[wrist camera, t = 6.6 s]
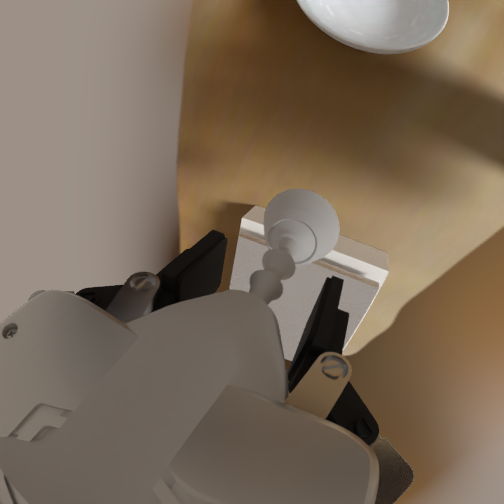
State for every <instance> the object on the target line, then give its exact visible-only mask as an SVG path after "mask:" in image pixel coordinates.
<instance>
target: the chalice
mask: <svg viewBox="0 0 504 504" xmlns="http://www.w3.org/2000/svg"><path fill="white" fill-rule="evenodd" d="M263 224H264V237H265V241H266V245H267V247H268V248H269V250H268V251H266V252H265V253H264V255H263V257H262V265H263V268H264V270H258V271H255V272H254V273H253V274H251V277H250V281H249V283H250V290H249V293H248V292H245V291H242V290H231V289H230V290H226V291H222V292H218V293H214V294H210V295H206V296H202V297H198V298H194V299H190V300H186V301H182V302H179V303H176V304H172V305H169V306H166V307H164V308H162V309H159V310H157V311H154V312H152V313H150V314H147V315H145V316H143V317H140V318H138V319H135V320H133V321H131V322H128V323H126V324H127V325H128V326H129V328H130V329H131V330H132V331H133V332H134V333H136V334H137V335H138V336H139V338H138V339H137V340H136V341H135V342H134V343H133V344H132V346H131V347H130V348H129V349H128V350H127V351H126V353H125V354H124V355H123V356H122V357H121V358H120V359H119V361H118V362H117V363H116V364H115V365H114V366H113V368H112V369H111V370H110V371H109V372H108V373H107V375H106V376H105V377H104V378H103V379H102V380H101V381H100V382H99V384H98V385H97V386H96V387H95V388H94V389H93V390H92V392H91V393H90V394H89V395H88V396H87V397H86V398H85V400H84V401H83V402H82V403H81V404H80V405H79V406H78V408H77V409H76V410H75V411H64V412H63V413H62V414H61V415H60V416H62V417H66V418H68V419H67V420H66V421H65V423H64V424H63V425H62V426H61V427H60V428H53V427H50V428H49V429H48V430H47V431H46V432H45V433H44V434H43V436H42V437H41V438H40V439H39V438H36V439H34V440H32V441H30V442H28V441H24V440H20V439H16V438H17V437H18V436H19V435H17V434H16V435H10V436H8V437H0V469H1V470H2V472H3V474H4V475H5V477H6V478H7V479H8V480H9V481H10V483H11V484H12V485H13V486H14V487H15V489H16V490H17V491H18V492H19V493H20V494H21V496H22V497H23V498H24V499H25V500H26V501H27V502H28V503H29V504H161V501H160V500H159V498H158V497H157V495H156V494H155V493H154V491H153V490H152V489H153V487H154V486H155V484H156V483H157V482H158V480H159V479H160V477H162V478H163V480H164V481H165V483H166V484H167V486H168V487H169V488H170V490H171V488H172V487H173V485H174V484H175V482H176V480H175V479H174V477H173V476H172V474H171V473H170V471H169V470H168V468H167V466H168V465H169V463H170V462H171V460H172V459H173V458H174V456H175V455H176V453H177V452H178V451H179V449H180V448H181V447H182V445H183V444H184V442H185V441H186V440H187V438H188V437H189V435H190V434H191V433H192V431H193V430H194V428H195V427H196V426H197V424H198V423H199V422H200V420H201V419H202V418H203V416H204V415H205V414H206V413H207V411H208V410H209V409H210V407H211V406H212V405H213V403H214V402H215V401H216V399H217V398H218V397H219V395H220V394H221V392H222V391H223V390H224V388H225V387H226V385H227V384H229V385H233V386H236V387H240V388H243V389H247V390H250V391H254V392H257V393H260V394H262V395H265V396H267V397H269V398H272V399H274V400H277V401H279V402H282V403H284V404H285V400H286V399H287V397H288V376H287V370H286V364H285V358H284V352H283V347H282V341H281V335H280V329H279V325H278V320H277V318H276V316H275V314H274V313H273V311H272V309H271V308H270V307H269V306H268V304H269V303H270V302H271V301H274V300H277V299H278V298H280V297H281V295H282V293H283V285H282V283H281V280H287V279H289V278H291V277H292V276H293V274H294V273H295V269H296V266H304V265H307V264H310V263H312V262H314V261H317V260H318V259H321V258H323V257H324V256H326V255H327V254H328V253H330V252H331V251H332V249H333V248H334V246H335V245H336V243H337V241H338V237H339V232H340V228H339V219H338V217H337V215H336V213H335V210H334V208H333V207H332V206H331V205H330V204H329V203H328V201H327V200H326V199H325V198H324V197H322V196H320V195H318V194H317V193H315V192H313V191H309V190H305V189H290V190H286V191H284V192H282V193H279V194H277V195H276V196H275V197H274V198H273V199H272V200H271V201H270V202H269V204H268V206H267V208H266V210H265V212H264V222H263Z"/></svg>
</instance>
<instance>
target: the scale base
mask: <svg viewBox="0 0 504 504" xmlns="http://www.w3.org/2000/svg"><path fill="white" fill-rule="evenodd" d="M265 210H266V208H263V207H260V206H257V205H256V206H254V207H253V208H252V209H251V210H250V211H249V212H248V213H247V214H245V215H244V216H243V217H242V220H241V226H240V231H239V235H240V234H241V233H242V232H244V233H247V234H250V235H252V236H255V237H258V238H261V239H263V240H265V237H264V224H263V222H264V212H265ZM318 260H320V261H323V262H326V263H328V264H331V265H334V266H336V267H339V268H342V269H344V270H347V271H350V272H352V273H355V274H358V275H360V276H363V277H365V278H368V279H371V280H373V281H376V282H379V289H378V291H377V293H376V295H377V294H378V292H379V290H380V288H381V286H382V284H383V283H384V281H385V279H386V277H387V275H388V273H389V263H388V253H386V252H384V251H381V250H379V249H376V248H373V247H371V246H368V245H366V244H363V243H360V242H358V241H355V240H353V239H350V238H347V237H345V236H342V235H339V237H338V241H337V243H336V245H335V246H334V248H333V249H332V251H331V252H330V253H328V254H327V255H326V256H324V257H323V258H321V259H318ZM376 295H375V297H376ZM375 297H374V299H375ZM374 299H373V300H372V302H371V304H372V303H373V301H374ZM371 304H370V306H371ZM370 306H369V307H368V309H367V311H368V310H369V308H370ZM367 311H366V313H367ZM366 313H365V314H364V316H365V315H366ZM364 316H363V318H364ZM363 318H362V319H361V321H362V320H363ZM361 321H360V323H361ZM360 323H359V324H358V326H359V325H360ZM358 326H357V328H358ZM357 328H356V329H355V331H356V330H357ZM355 331H354V333H355ZM354 333H353V334H352V336H353V335H354ZM352 336H351V337H350V339H351V338H352ZM350 339H349V341H350ZM349 341H348V342H349ZM348 342H347V344H348ZM347 344H346V345H345V347H346V346H347ZM345 347H344V348H343V350H344V349H345Z"/></svg>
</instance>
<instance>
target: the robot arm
mask: <svg viewBox="0 0 504 504" xmlns="http://www.w3.org/2000/svg"><path fill="white" fill-rule="evenodd" d="M226 245H227V238H225V235H224V234H223V233H220V232H218V231H215V230H212V231H211V232H209V233H208V234H207V235H206V236H205V237H203V238H202V239H201V240H200V241H199V242H197V243H196V244H195V245H194V246H193V247H191V248H190V249H186V250H185V251H183V252H182V253H181V254H180V255H179V256H178V257H176V258H175V259H174V260H173V261H172V262H171V263H169V264H168V265H167V266H166V267H165V268H163V269H162V270H161V271H160V272H159V273H158V274H156V275H155V274H153V273H150V272H138V273H135V274H133V275H131V276H130V277H129V278H128V279H127V281H126V282H125V283H124V285H115V286H105V287H92V288H85V289H82V290H80V291H79V292H77V293H76V294H75V293H74V292H73V291H61V290H48V291H45V290H42V291H37V292H35V293H33V294H32V295H31V296H30V298H29V300H28V301H27V302H26V303H25V304H23V305H22V306H21V307H20V308H18V309H17V310H16V311H14V312H13V313H12V314H11V315H10V316H8V317H7V318H6V319H5V320H4V321H3V322H2V323H1V324H0V437H8V436H10V435H16V434H17V435H19V436H18V437H17V438H16V439H20V440H24V441H28V442H30V441H32V440H34V439H36V438H39V439H40V438H41V437H42V436H43V434H44V433H45V432H46V431H47V430H48V429H49V428H50V427H53V428H60V427H61V426H62V425H63V424H64V423H65V421H66V420H67V419H68V418H66V417H62V416H60V415H61V414H62V413H63V412H64V411H75V410H76V409H77V408H78V406H79V405H80V404H81V403H82V402H83V401H84V400H85V398H86V397H87V396H88V395H89V394H90V393H91V392H92V390H93V389H94V388H95V387H96V386H97V385H98V384H99V382H100V381H101V380H102V379H103V378H104V377H105V376H106V375H107V373H108V372H109V371H110V370H111V369H112V368H113V366H114V365H115V364H116V363H117V362H118V361H119V359H120V358H121V357H122V356H123V355H124V354H125V353H126V351H127V350H128V349H129V348H130V347H131V346H132V344H133V343H134V342H135V341H136V340H137V339H138V338H139V336H138V335H137V334H136V333H134V332H133V331H132V330H131V329H130V328H129V326H128V325H127V324H126V323H128V322H131V321H133V320H135V319H138V318H140V317H143V316H145V315H147V314H150V313H152V312H154V311H157V310H159V309H162V308H164V307H166V306H169V305H172V304H176V303H179V302H182V301H186V300H190V299H194V298H198V297H202V296H206V295H210V294H214V293H215V291H216V290H217V289H218V287H219V285H220V282H221V276H222V270H223V264H224V258H225V251H226ZM343 282H344V280H343V279H341V278H338V277H336V276H332V277H331V278H329V277H327V278H326V280H325V282H324V285H323V287H322V289H321V292H320V294H319V296H318V298H317V301H316V303H315V305H314V307H313V310H312V312H311V314H310V316H309V318H308V321H307V323H306V326H305V328H304V331H303V334H302V336H301V339H300V342H299V345H298V347H297V350H296V352H295V355H294V358H293V360H292V363H291V365H290V368H289V370H288V373H287V376H288V381H289V383H288V390H289V392H290V395H289V396H288V397H287V399H286V400H285V404H284V403H282V402H279V401H277V400H274V399H272V398H269V397H267V396H265V395H262V394H260V393H257V392H254V391H250V390H247V389H243V388H240V387H236V386H233V385H229V384H227V385H226V387H225V388H224V390H223V391H222V392H221V394H220V395H219V397H218V398H217V399H216V401H215V402H214V403H213V405H212V406H211V407H210V409H209V410H208V411H207V413H206V414H205V415H204V416H203V418H202V419H201V420H200V422H199V423H198V424H197V426H196V427H195V428H194V430H193V431H192V433H191V434H190V435H189V437H188V438H187V440H186V441H185V442H184V444H183V445H182V447H181V448H180V449H179V451H178V452H177V453H176V455H175V456H174V458H173V459H172V460H171V462H170V463H169V465H168V466H167V468H168V470H169V471H170V473H171V474H172V476H173V477H174V479H175V480H176V482H175V484H174V485H173V487H172V488H171V490H170V488H169V487H168V486H167V484H166V483H165V481H164V480H163V478H162V477H160V479H159V480H158V482H157V483H156V484H155V486H154V487H153V489H152V490H153V491H154V493H155V494H156V495H157V497H158V498H159V500H160V501H161V504H393V503H395V502H396V500H397V499H398V498H399V497H400V496H401V495H402V494H403V493H404V492H405V491H406V490H407V489H408V488H409V487H410V485H411V484H412V482H413V478H414V473H413V470H412V468H411V467H410V466H409V465H408V463H407V462H406V461H405V460H404V459H403V458H402V456H401V455H400V454H399V453H398V452H397V451H396V450H395V449H394V447H393V446H392V445H391V444H390V443H389V442H388V441H387V439H386V438H384V439H382V438H381V437H380V436H379V435H378V434H379V428H378V424H377V422H376V421H375V419H374V417H373V416H372V414H371V413H370V412H369V410H368V408H367V407H366V405H365V404H364V403H363V401H362V400H361V399H360V397H359V395H358V394H357V392H356V391H355V389H354V388H353V386H352V385H351V384H350V382H349V378H350V377H351V374H352V367H351V365H350V363H349V361H348V360H347V359H346V358H345V357H344V356H342V352H343V347H344V342H345V337H346V331H347V326H348V320H349V313H348V312H345V311H343V310H340V309H338V306H339V302H340V297H341V292H342V287H343ZM0 504H29V503H28V502H27V501H26V500H25V499H24V498H23V497H22V496H21V494H20V493H19V492H18V491H17V490H16V489H15V487H14V486H13V485H12V484H11V483H10V481H9V480H8V479H7V478H6V477H5V475H4V474H3V472H2V470H1V469H0Z"/></svg>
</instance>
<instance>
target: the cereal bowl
mask: <svg viewBox="0 0 504 504" xmlns="http://www.w3.org/2000/svg"><path fill="white" fill-rule="evenodd" d="M297 2H298V4H299V6H300V8H301V9H302V10H303V12H304V13H305V14H306V15H307V17H308V18H309V19H310V20H311V21H312V22H313V23H314V24H315V25H316V26H317V27H318V28H320V29H321V30H322V31H324V32H325V33H326V34H328V35H329V36H331V37H332V38H333V39H336V40H337V41H339V42H341V43H343V44H345V45H348V46H350V47H353V48H355V49H358V50H362V51H367V52H372V53H378V54H398V53H405V52H409V51H412V50H416V49H418V48H420V47H422V46H425V45H426V44H428V43H430V42H431V41H432V40H434V39H435V38H436V37H437V36H438V35H439V34H440V33H441V32H442V30H443V29H444V27H445V25H446V23H447V20H448V15H449V3H448V0H297Z"/></svg>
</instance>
